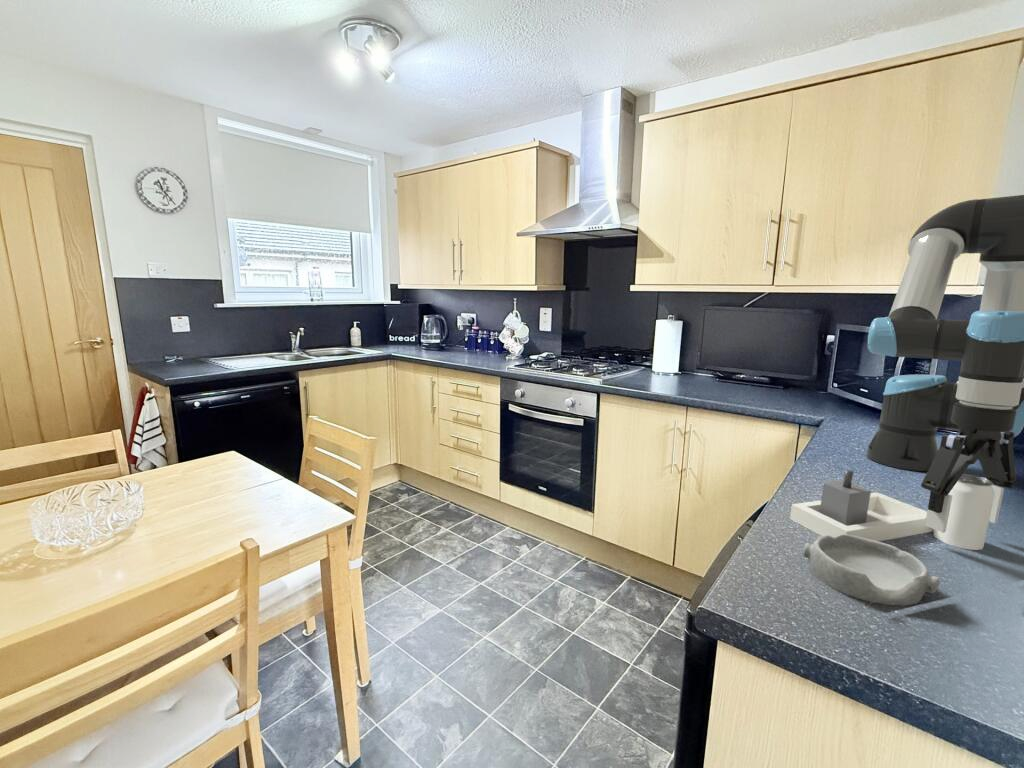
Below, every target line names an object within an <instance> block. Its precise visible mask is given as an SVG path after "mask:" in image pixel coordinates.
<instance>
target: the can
mask: <svg viewBox="0 0 1024 768" xmlns="http://www.w3.org/2000/svg"><path fill="white" fill-rule="evenodd" d="M992 485H993V483H992V482H991V481H989V480H987V479H986V477H981V476H978V475H973V474H968V473H963V474H962V476H961V477H960V479H959V480H958V481H957V483H956V484H955V486H954V487H953V488H952V490H951V491H950V493H949V494H948V495H951V496H952V501H951V506H950V512H949V517H948V522H947V527H946V532H944V533H942V532H939V531H937V530H934V531H933V536H934V537H935V538H936V539H937V540H939V541H941V542H943V543H944V544H947V545H950V546H953V547H956V548H960V549H965V550H970V551H979V550H980V551H981V550H983V548H984V546H985V543H986V537H987V532H988V527H989V524H990V522H989V519H990V514H991V509H992V505H993V499H994V490H993V488H992Z"/></svg>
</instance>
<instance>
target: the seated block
mask: <svg viewBox="0 0 1024 768" xmlns="http://www.w3.org/2000/svg"><path fill="white" fill-rule="evenodd" d="M843 476H844V477H843V480H838V481H831V482H824V483H823V486H822V493H821V506H820V513H821V514H823V515H825V516H828V517H830V518H832V519H834V520H836V521H838V522H840V523H842V524H844V525H846V526H850V525H856V524H862V523H866V519H867V512H868V506H869V500H870V493H872V492H871V490H870V489H867V488H864V487H862V486H860V485H858V484H857V485H856V484H854V483H853V477H854V471H853V470H850V469H845V470H844V475H843Z"/></svg>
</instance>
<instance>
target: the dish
mask: <svg viewBox="0 0 1024 768" xmlns="http://www.w3.org/2000/svg"><path fill="white" fill-rule="evenodd" d="M802 555H803V557H804V558H806V559H808V567H809V568H808V569H809V571H811V573H812V574H813V576H814V577H816V578H817V579H818V580H819V581H821V582H822V583H823V584H824V585H826V586H828V587H830V588H832V589H834V590H836V591H837V592H840V593H842V594H844V595H847V596H848V597H849V596H850V597H852V598H856V599H857V600H858V599H859V600H862V601H865V602H869V603H875V604H880V605H889V606H910V605H911V606H912V605H915V604H918V603H920V601H921V600H923V599H922V598H923V596H924V595H925V594H926V593H927V592H928V593H931V594H935V593H936V591H937V590H938V588H939V585H940V579H939V577H938V576H933V575H931V574H930V573H929V571H928V568H927V567H926V566H925V564H924V563H923V561H921V560H920V559H919V558H917V557H916V556H914V555H913V554H912V553H910V552H908V551H904V550H901V549H900V548H898V547H897V546H894V545H891V544H888V543H886V542H885V543H884V542H883V541H874V540H870V539H866V538H862V537H857V536H853V535H848V534H840V535H837V536H832V537H831V536H829V535H825V536H820V537H818V538H817V539H816V540H815V541H814V542H813V543H809V542H807V543H805V545H804V547H803V550H802Z"/></svg>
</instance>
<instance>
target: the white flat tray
mask: <svg viewBox="0 0 1024 768" xmlns="http://www.w3.org/2000/svg"><path fill="white" fill-rule="evenodd" d="M820 506H821V500H813V501H806V502H800V503H792V504H791V508H790V517H789V519H790V520H792V522H795V523H796V524H799V525H800V526H803V527H805V528H807V529H808V530H810V531H812V532H814V533H816V534H818V535H820V537H822V536H825V535H829V536H831V537H832V536H837V535H840V534H848V535H853V536H857V537H862V538H866V539H870V540H874V541H878V542H883V541H888V540H894V539H899V538H905V537H910V536H915V535H921V534H927V533H932V532H933V533H934V529H932V528H930V527H927V526H925V521H926V515H927V510H924V509H921V508H919V507H916V506H913V505H912V504H909V503H906V502H903V501H902V500H898V499H895V498H893V497H891V496H888V495H886V494H883V493H880V492H878V491H877V492H871V493H870V500H869V506H868V512H867V519H866V523H862V524H856V525H850V526H846V525H844V524H842V523H840V522H838V521H836V520H834V519H832V518H830V517H828V516H825V515H823V514H821V513H820Z"/></svg>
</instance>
